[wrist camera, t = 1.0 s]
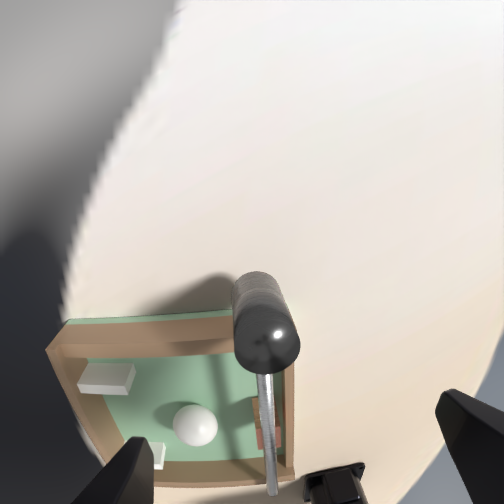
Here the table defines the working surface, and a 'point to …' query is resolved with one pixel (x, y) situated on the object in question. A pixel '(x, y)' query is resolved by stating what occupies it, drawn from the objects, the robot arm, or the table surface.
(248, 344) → the rubber mallet
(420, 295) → the table surface
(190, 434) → the ball
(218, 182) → the table surface
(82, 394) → the pitch
